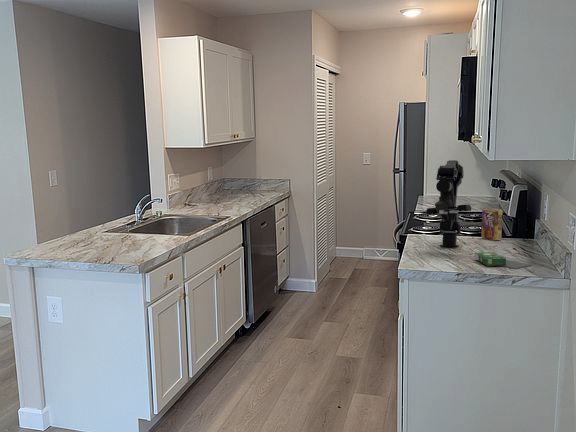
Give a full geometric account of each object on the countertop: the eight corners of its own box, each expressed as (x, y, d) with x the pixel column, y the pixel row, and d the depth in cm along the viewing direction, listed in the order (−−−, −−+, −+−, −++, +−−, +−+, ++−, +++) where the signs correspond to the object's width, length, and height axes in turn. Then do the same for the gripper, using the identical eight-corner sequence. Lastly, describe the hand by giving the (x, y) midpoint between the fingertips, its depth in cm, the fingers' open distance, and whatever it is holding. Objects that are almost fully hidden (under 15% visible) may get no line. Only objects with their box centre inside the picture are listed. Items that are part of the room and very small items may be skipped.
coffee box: (473, 259, 225) (486, 266, 212) (473, 252, 225) (487, 259, 212) (492, 258, 226) (506, 265, 213) (492, 251, 225) (507, 258, 212)
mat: (485, 262, 220) (485, 261, 220) (501, 259, 225) (501, 258, 225) (515, 269, 208) (515, 268, 208) (531, 265, 213) (531, 264, 213)
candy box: (501, 240, 268) (503, 209, 266) (497, 241, 265) (498, 210, 263) (485, 237, 275) (486, 208, 273) (480, 238, 272) (481, 209, 270)
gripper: (419, 196, 237) (421, 231, 237) (459, 191, 225) (462, 228, 224) (430, 196, 246) (433, 230, 245) (470, 191, 234) (473, 227, 233)
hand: (449, 229), depth 237 cm, fingers closed
